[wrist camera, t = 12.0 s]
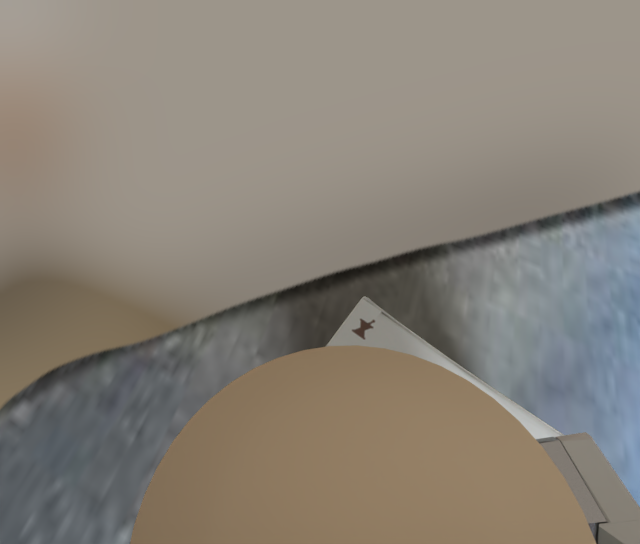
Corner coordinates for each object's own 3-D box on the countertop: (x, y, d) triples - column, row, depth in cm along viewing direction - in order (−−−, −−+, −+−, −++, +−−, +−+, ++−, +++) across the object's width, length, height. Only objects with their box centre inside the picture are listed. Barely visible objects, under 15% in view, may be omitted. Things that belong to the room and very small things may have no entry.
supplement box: (303, 458, 31) (194, 497, 15) (381, 350, 32) (354, 284, 17) (421, 562, 28) (436, 745, 12) (502, 438, 29) (610, 458, 13)
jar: (256, 532, 13) (38, 691, 5) (338, 357, 14) (256, 282, 6) (439, 651, 11) (502, 1128, 4) (516, 442, 12) (686, 477, 5)
